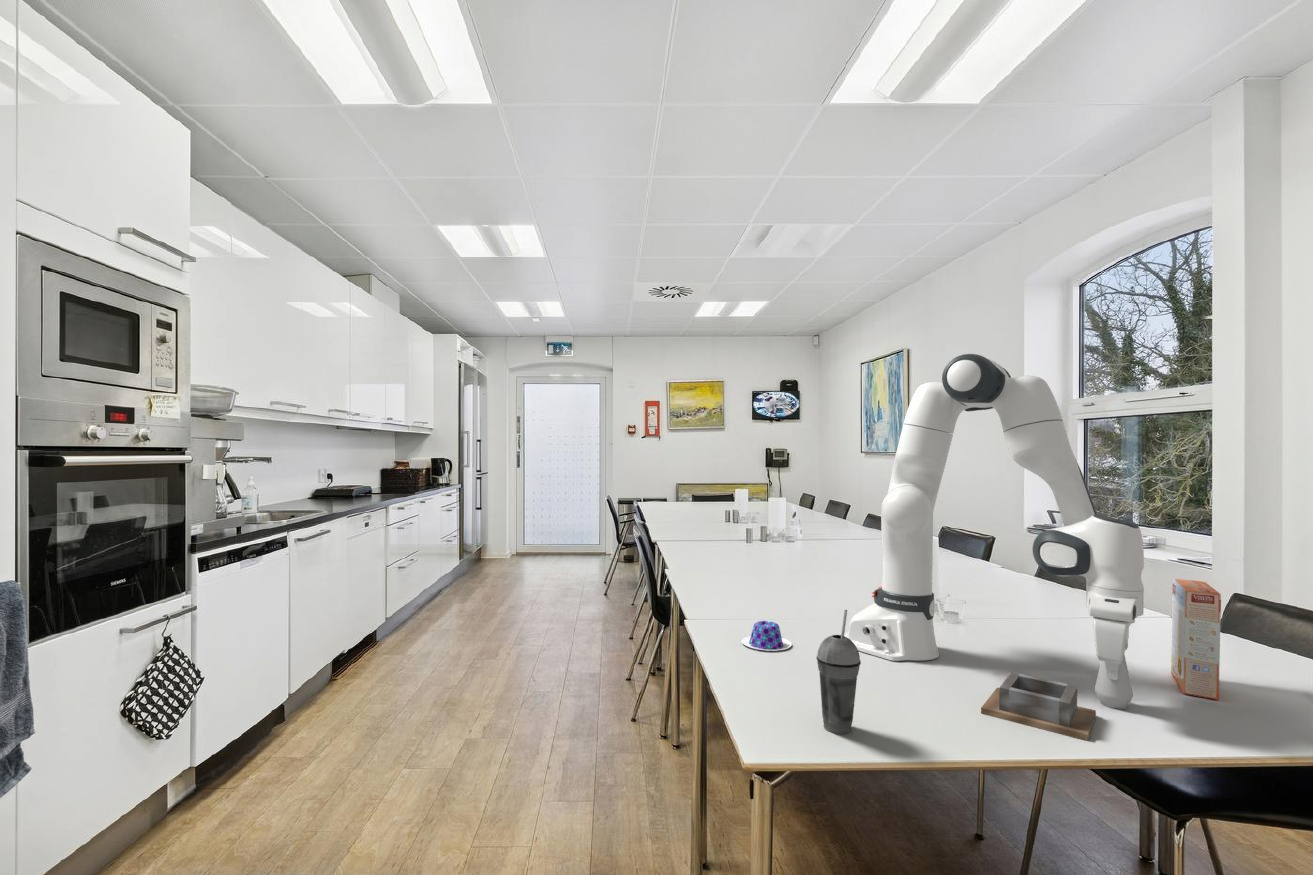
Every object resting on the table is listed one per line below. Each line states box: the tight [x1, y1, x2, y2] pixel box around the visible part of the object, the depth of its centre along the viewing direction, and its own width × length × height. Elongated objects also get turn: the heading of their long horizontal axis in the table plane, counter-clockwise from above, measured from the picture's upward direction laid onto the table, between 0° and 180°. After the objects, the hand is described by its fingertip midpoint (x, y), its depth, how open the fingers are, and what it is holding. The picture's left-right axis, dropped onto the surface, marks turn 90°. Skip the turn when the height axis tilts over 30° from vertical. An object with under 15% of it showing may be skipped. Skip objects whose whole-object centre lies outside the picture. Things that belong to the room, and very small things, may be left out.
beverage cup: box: [815, 609, 862, 735], centre depth 107 cm, size 7×7×20 cm
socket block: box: [980, 671, 1097, 742], centre depth 114 cm, size 16×13×5 cm
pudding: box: [740, 620, 793, 652], centre depth 152 cm, size 12×12×5 cm
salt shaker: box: [1094, 640, 1134, 710], centre depth 119 cm, size 6×6×13 cm
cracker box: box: [1170, 578, 1222, 701], centre depth 129 cm, size 14×6×21 cm, turn 148°
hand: (1113, 674), depth 119 cm, fingers closed on salt shaker, 4 cm apart
